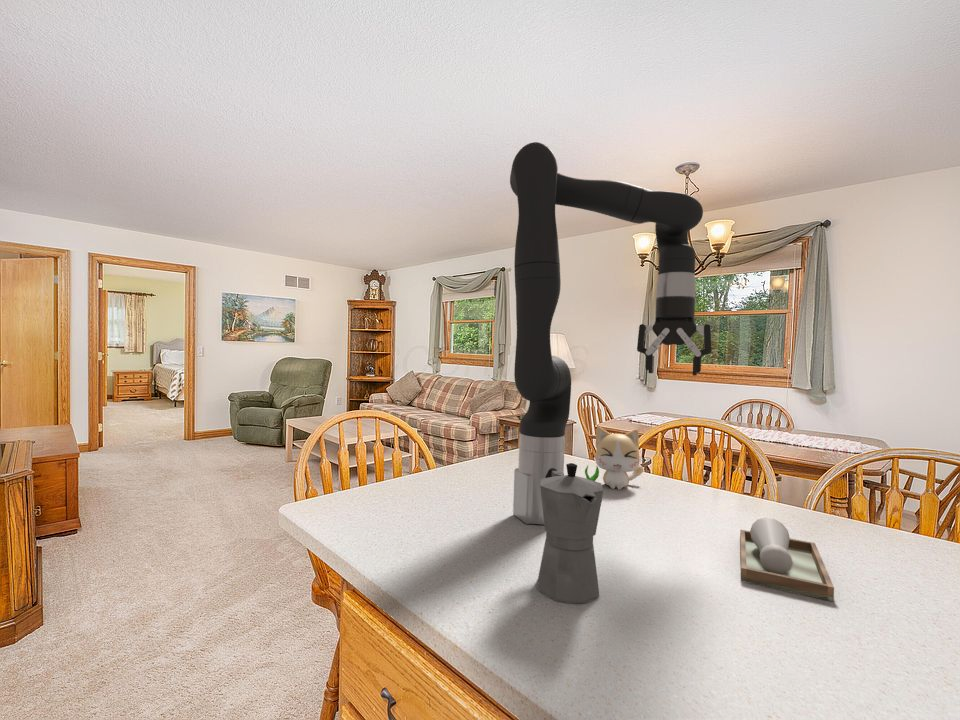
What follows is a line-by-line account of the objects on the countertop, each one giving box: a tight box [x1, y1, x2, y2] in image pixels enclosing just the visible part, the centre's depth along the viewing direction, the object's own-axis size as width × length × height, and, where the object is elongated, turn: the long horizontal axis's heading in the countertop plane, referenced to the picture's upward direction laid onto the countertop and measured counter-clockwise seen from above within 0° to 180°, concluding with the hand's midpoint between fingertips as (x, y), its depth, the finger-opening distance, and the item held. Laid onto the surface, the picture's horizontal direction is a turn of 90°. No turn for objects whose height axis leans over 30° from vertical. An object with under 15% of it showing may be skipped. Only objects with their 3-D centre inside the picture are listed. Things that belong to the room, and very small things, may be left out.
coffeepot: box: [536, 462, 604, 605], centre depth 69 cm, size 15×9×18 cm, turn 13°
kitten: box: [584, 426, 644, 491], centre depth 122 cm, size 15×10×15 cm, turn 76°
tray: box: [739, 529, 835, 603], centre depth 77 cm, size 18×11×2 cm, turn 151°
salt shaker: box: [749, 517, 793, 574], centre depth 78 cm, size 6×6×13 cm
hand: (672, 374), depth 98 cm, fingers open, 8 cm apart
